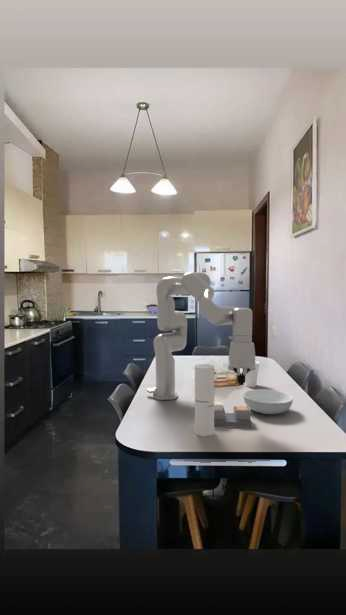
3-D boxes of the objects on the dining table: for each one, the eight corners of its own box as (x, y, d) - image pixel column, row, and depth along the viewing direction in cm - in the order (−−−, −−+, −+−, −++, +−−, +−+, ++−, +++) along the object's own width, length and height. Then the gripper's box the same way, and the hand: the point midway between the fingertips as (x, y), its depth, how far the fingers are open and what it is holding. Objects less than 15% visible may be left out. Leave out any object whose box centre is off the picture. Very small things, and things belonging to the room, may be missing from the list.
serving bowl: (285, 423, 145) (285, 406, 144) (236, 413, 156) (236, 398, 155) (297, 408, 162) (298, 393, 162) (252, 400, 173) (252, 386, 173)
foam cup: (240, 386, 198) (240, 363, 198) (243, 382, 207) (243, 360, 206) (257, 388, 195) (257, 364, 194) (260, 384, 203) (260, 361, 203)
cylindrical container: (193, 429, 139) (193, 364, 137) (212, 428, 139) (212, 363, 138) (196, 436, 132) (196, 368, 130) (215, 435, 132) (215, 368, 131)
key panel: (210, 426, 141) (210, 412, 141) (208, 417, 151) (208, 404, 151) (251, 427, 140) (251, 413, 140) (247, 417, 150) (247, 404, 150)
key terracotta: (237, 417, 143) (237, 410, 143) (235, 413, 148) (235, 406, 147) (248, 417, 143) (248, 410, 143) (246, 413, 148) (246, 406, 147)
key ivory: (211, 412, 143) (211, 404, 143) (211, 408, 148) (210, 401, 148) (222, 412, 143) (222, 405, 143) (221, 408, 148) (221, 401, 148)
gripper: (224, 340, 140) (223, 386, 142) (263, 340, 140) (261, 387, 141) (222, 337, 148) (221, 381, 149) (259, 337, 147) (257, 382, 149)
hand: (241, 384), depth 145 cm, fingers closed
